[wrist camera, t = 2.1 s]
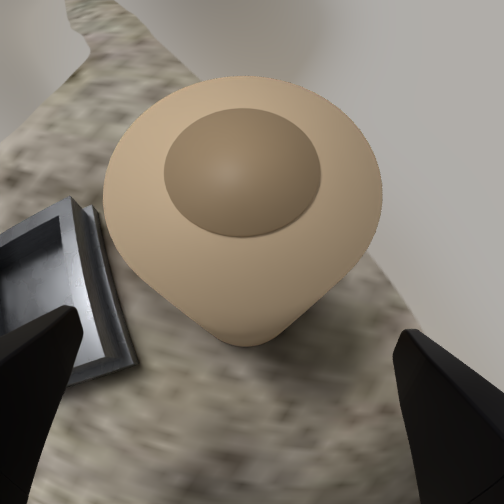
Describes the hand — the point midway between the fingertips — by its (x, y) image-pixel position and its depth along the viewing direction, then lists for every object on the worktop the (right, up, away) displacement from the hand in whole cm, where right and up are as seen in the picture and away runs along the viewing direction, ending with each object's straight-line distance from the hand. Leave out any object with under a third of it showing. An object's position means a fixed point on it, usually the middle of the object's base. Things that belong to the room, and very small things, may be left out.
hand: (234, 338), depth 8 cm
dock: (-13, -2, +10) cm, 17 cm away
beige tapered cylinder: (0, 0, +11) cm, 11 cm away
